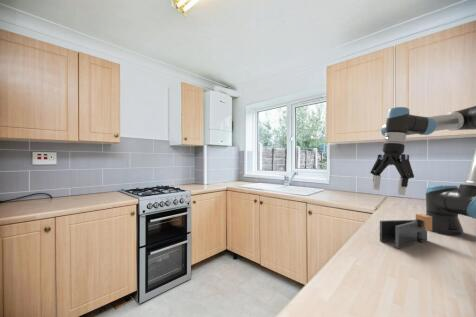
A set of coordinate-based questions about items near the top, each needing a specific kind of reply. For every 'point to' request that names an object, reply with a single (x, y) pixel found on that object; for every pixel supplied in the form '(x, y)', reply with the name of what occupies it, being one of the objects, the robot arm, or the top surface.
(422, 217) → the orange slotted clip
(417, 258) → the top surface
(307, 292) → the top surface
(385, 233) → the arm
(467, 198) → the robot arm
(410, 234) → the tongs hinged arm
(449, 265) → the top surface
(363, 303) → the top surface
